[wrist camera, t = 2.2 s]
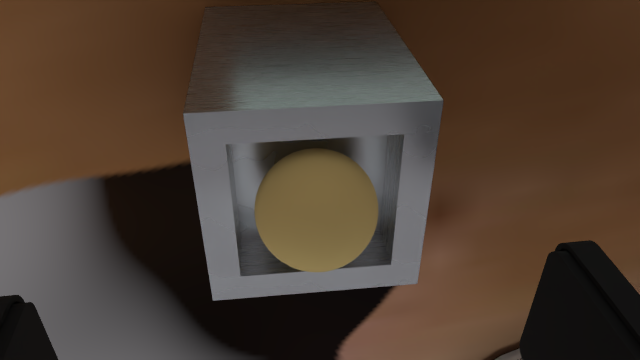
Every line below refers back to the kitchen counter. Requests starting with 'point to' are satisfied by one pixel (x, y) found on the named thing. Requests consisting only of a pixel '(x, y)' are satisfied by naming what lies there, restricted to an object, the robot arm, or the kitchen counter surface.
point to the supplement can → (511, 355)
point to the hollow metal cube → (308, 135)
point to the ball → (316, 210)
